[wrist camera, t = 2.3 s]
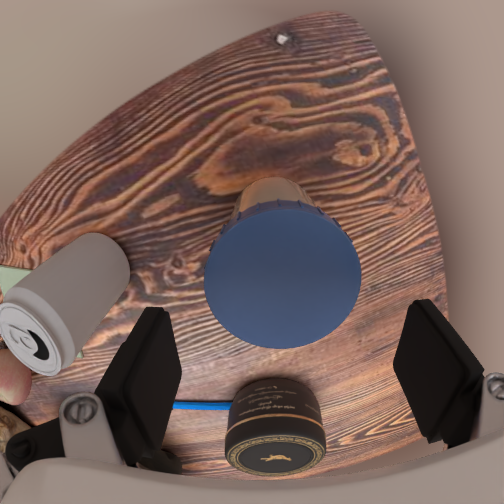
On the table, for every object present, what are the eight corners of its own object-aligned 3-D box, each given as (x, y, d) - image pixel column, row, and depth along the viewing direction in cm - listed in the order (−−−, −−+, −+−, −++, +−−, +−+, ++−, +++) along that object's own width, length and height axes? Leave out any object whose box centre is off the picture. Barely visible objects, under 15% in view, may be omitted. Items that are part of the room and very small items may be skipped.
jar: (214, 385, 30) (204, 443, 23) (305, 361, 28) (314, 423, 21) (249, 432, 33) (247, 482, 26) (327, 414, 31) (336, 466, 24)
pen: (129, 396, 32) (126, 402, 31) (287, 398, 30) (288, 405, 29) (131, 400, 32) (129, 407, 31) (287, 402, 31) (288, 410, 30)
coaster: (-4, 264, 26) (-6, 265, 25) (59, 273, 26) (57, 274, 25) (21, 339, 30) (20, 340, 29) (83, 356, 30) (82, 358, 29)
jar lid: (208, 193, 13) (201, 202, 11) (363, 205, 13) (376, 215, 11) (209, 325, 16) (204, 345, 14) (338, 330, 16) (344, 350, 14)
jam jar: (234, 174, 22) (213, 209, 12) (318, 180, 22) (362, 220, 12) (232, 252, 24) (213, 333, 14) (309, 256, 24) (337, 338, 14)
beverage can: (131, 301, 26) (72, 394, 15) (74, 282, 26) (3, 358, 15) (136, 239, 24) (58, 321, 13) (74, 222, 23) (-17, 284, 12)
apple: (16, 373, 33) (-8, 406, 26) (-5, 335, 30) (-34, 366, 23) (49, 383, 33) (25, 421, 25) (27, 342, 30) (-4, 380, 23)
